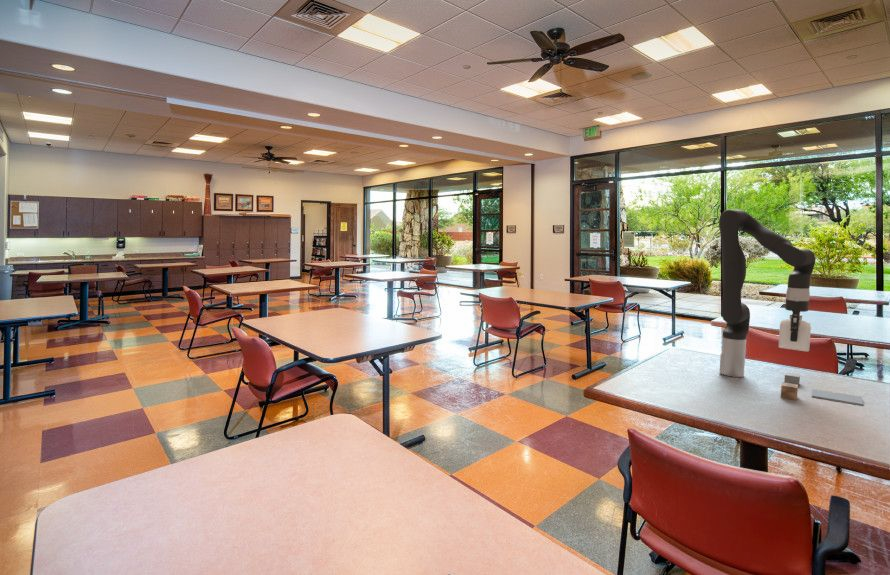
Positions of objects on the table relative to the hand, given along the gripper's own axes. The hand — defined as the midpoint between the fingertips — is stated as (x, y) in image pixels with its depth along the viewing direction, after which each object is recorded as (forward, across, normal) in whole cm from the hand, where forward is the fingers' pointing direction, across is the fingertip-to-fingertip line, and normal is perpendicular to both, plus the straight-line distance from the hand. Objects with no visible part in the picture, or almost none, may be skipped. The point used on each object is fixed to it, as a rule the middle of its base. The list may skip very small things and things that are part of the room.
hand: (793, 339), depth 187 cm
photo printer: (+4, 0, 0) cm, 4 cm away
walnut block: (+21, +11, 0) cm, 24 cm away
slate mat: (+21, 0, +15) cm, 26 cm away
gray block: (+21, -10, 0) cm, 24 cm away
